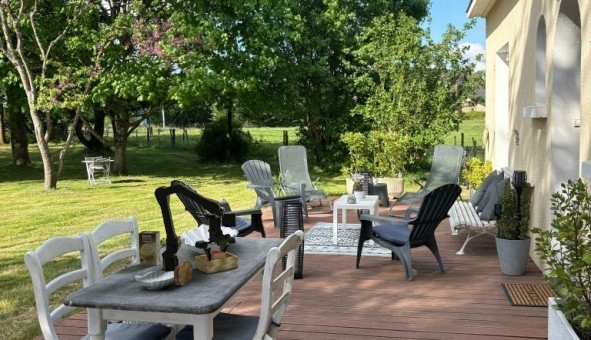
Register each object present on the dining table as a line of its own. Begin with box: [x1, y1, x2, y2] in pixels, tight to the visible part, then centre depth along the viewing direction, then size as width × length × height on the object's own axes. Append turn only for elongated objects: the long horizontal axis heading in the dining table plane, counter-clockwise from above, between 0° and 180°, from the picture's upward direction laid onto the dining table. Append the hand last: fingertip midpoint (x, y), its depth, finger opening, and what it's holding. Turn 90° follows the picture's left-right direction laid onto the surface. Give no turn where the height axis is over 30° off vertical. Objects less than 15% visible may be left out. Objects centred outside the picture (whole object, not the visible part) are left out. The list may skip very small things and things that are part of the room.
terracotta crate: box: [207, 249, 226, 261], centre depth 261 cm, size 6×8×5 cm
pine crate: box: [194, 251, 239, 274], centre depth 261 cm, size 16×13×6 cm
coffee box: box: [138, 230, 162, 266], centre depth 272 cm, size 9×6×16 cm
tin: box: [173, 261, 194, 286], centre depth 239 cm, size 15×3×8 cm, turn 168°
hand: (216, 260), depth 261 cm, fingers closed on terracotta crate, 6 cm apart
